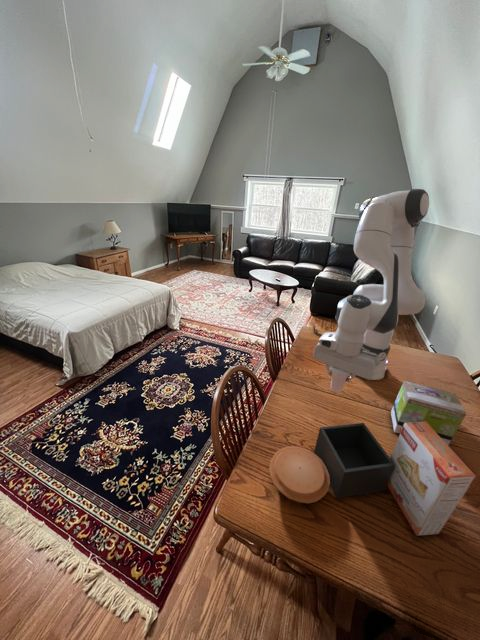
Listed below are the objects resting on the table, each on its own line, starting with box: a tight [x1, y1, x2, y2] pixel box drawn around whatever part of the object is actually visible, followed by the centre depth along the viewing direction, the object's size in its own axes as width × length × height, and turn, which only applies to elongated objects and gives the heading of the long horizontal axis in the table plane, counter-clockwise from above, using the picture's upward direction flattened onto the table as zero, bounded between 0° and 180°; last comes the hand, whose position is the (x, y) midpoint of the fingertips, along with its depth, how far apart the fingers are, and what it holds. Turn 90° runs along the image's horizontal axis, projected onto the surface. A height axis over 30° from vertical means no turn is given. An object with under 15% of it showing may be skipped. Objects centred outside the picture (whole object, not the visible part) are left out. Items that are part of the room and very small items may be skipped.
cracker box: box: [386, 422, 476, 537], centre depth 62 cm, size 14×6×21 cm, turn 5°
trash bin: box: [313, 422, 395, 499], centre depth 72 cm, size 14×14×10 cm
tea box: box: [390, 380, 467, 446], centre depth 85 cm, size 15×10×15 cm, turn 68°
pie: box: [268, 445, 331, 504], centre depth 70 cm, size 16×16×5 cm
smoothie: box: [330, 366, 351, 394], centre depth 93 cm, size 6×6×14 cm
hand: (338, 377), depth 93 cm, fingers closed on smoothie, 5 cm apart
